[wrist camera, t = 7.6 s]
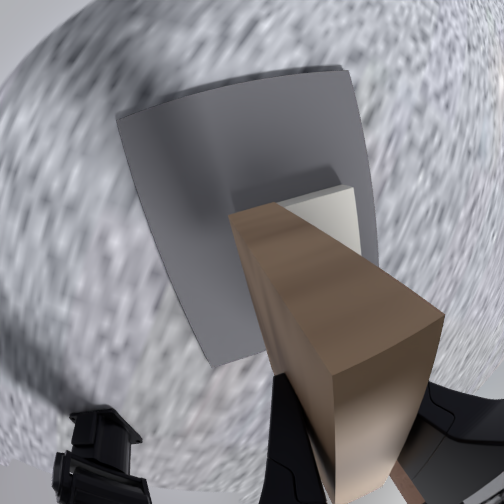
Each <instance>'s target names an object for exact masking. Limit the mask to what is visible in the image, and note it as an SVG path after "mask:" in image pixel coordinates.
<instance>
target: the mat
mask: <svg viewBox="0 0 504 504" xmlns="http://www.w3.org/2000/svg"><path fill="white" fill-rule="evenodd" d="M116 121H117V125H118V129H119V132H120V136H121V140H122V143H123V147H124V150H125V154H126V157H127V160H128V164H129V167H130V170H131V173H132V176H133V180H134V183H135V186H136V189H137V192H138V195H139V198H140V201H141V204H142V206H143V209H144V212H145V215H146V218H147V221H148V223H149V226H150V229H151V231H152V234H153V237H154V239H155V242H156V245H157V247H158V250H159V252H160V255H161V257H162V260H163V262H164V265H165V267H166V270H167V272H168V275H169V277H170V279H171V282H172V284H173V287H174V289H175V291H176V294H177V296H178V298H179V300H180V303H181V305H182V307H183V309H184V312H185V314H186V316H187V318H188V320H189V322H190V325H191V327H192V329H193V331H194V333H195V335H196V337H197V339H198V341H199V344H200V346H201V348H202V350H203V352H204V354H205V356H206V358H207V360H208V362H209V364H210V366H211V368H213V367H216V366H220V365H223V364H226V363H230V362H233V361H236V360H239V359H242V358H246V357H249V356H252V355H255V354H258V353H261V352H263V351H266V347H265V344H264V340H263V337H262V334H261V330H260V327H259V323H258V320H257V316H256V313H255V310H254V306H253V303H252V299H251V296H250V292H249V289H248V285H247V282H246V278H245V275H244V271H243V268H242V264H241V261H240V257H239V254H238V250H237V246H236V243H235V239H234V236H233V232H232V229H231V225H230V221H229V218H228V215H230V214H234V213H237V212H240V211H244V210H247V209H251V208H254V207H258V206H261V205H265V204H268V203H272V202H275V203H277V202H281V201H284V200H288V199H291V198H295V197H298V196H302V195H305V194H309V193H312V192H316V191H320V190H323V189H327V188H331V187H335V186H338V185H342V184H343V185H346V186H350V187H353V188H354V195H355V202H356V209H357V217H358V226H359V236H360V246H361V256H362V257H364V258H365V259H367V260H368V261H370V262H371V263H373V264H374V265H376V266H377V267H379V259H378V241H377V228H376V216H375V206H374V197H373V189H372V182H371V174H370V168H369V161H368V155H367V149H366V144H365V138H364V133H363V128H362V123H361V119H360V114H359V109H358V105H357V101H356V97H355V93H354V89H353V85H352V81H351V77H350V74H349V70H341V71H324V72H312V73H301V74H293V75H285V76H277V77H271V78H264V79H258V80H253V81H247V82H242V83H237V84H233V85H228V86H224V87H219V88H215V89H211V90H207V91H203V92H199V93H196V94H192V95H188V96H185V97H182V98H178V99H175V100H172V101H168V102H165V103H162V104H159V105H156V106H153V107H151V108H148V109H145V110H142V111H139V112H137V113H134V114H131V115H129V116H126V117H124V118H121V119H119V120H116Z"/></svg>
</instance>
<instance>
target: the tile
mask: <svg viewBox="0 0 504 504" xmlns="http://www.w3.org/2000/svg"><path fill="white" fill-rule="evenodd" d="M277 204H279V205H280V206H282V207H284V208H285V209H287V210H289V211H290V212H292V213H294V214H295V215H297V216H299V217H300V218H302V219H304V220H305V221H307V222H309V223H310V224H312V225H313V226H315V227H317V228H318V229H320V230H322V231H323V232H325V233H326V234H328V235H330V236H331V237H333V238H334V239H336V240H337V241H339V242H341V243H342V244H344V245H345V246H347V247H348V248H350V249H351V250H353V251H355V252H356V253H358V254H359V255H361V246H360V236H359V226H358V217H357V209H356V202H355V195H354V188H353V187H350V186H346V185H343V184H342V185H338V186H335V187H331V188H327V189H323V190H320V191H316V192H312V193H309V194H305V195H302V196H298V197H295V198H291V199H288V200H284V201H281V202H277Z"/></svg>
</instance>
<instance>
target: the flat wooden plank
mask: <svg viewBox="0 0 504 504" xmlns="http://www.w3.org/2000/svg"><path fill="white" fill-rule="evenodd" d="M228 218H229V221H230V225H231V229H232V232H233V236H234V239H235V243H236V246H237V250H238V254H239V257H240V261H241V264H242V268H243V271H244V275H245V278H246V282H247V285H248V289H249V292H250V296H251V299H252V303H253V306H254V310H255V313H256V316H257V320H258V323H259V327H260V330H261V334H262V337H263V340H264V344H265V347H266V350H267V354H268V357H269V361H270V364H271V367H272V370H273V373H274V375H277V374H280V373H285V374H286V376H287V378H288V380H289V382H290V383H291V385H292V387H293V389H294V391H295V393H296V395H297V397H298V400H299V403H300V406H301V410H302V414H303V417H304V421H305V424H306V428H307V431H308V435H309V438H310V442H311V446H312V449H313V453H314V456H315V460H316V463H317V467H318V471H319V474H320V478H321V481H322V483H323V485H324V487H325V489H326V491H327V493H328V495H329V498H330V500H331V502H332V504H348V503H350V502H352V501H354V500H356V499H359V498H361V497H363V496H365V495H367V494H369V493H370V492H373V491H375V490H377V489H378V488H380V487H382V486H383V484H384V483H385V481H386V479H387V477H388V475H389V474H390V472H391V470H392V468H393V466H394V464H395V462H396V460H397V458H398V456H399V454H400V452H401V450H402V448H403V446H404V443H405V441H406V439H407V437H408V434H409V432H410V430H411V427H412V425H413V423H414V420H415V418H416V415H417V412H418V410H419V407H420V404H421V402H422V399H423V396H424V393H425V390H426V387H427V384H428V381H429V378H430V374H431V371H432V368H433V364H434V360H435V357H436V353H437V349H438V345H439V341H440V336H441V332H442V327H443V323H444V317H445V314H444V313H442V312H441V311H440V310H438V309H437V308H436V307H434V306H433V305H431V304H430V303H429V302H427V301H426V300H425V299H423V298H422V297H420V296H419V295H418V294H416V293H415V292H413V291H412V290H411V289H409V288H408V287H406V286H405V285H404V284H402V283H401V282H399V281H398V280H396V279H395V278H393V277H392V276H391V275H389V274H388V273H386V272H385V271H383V270H382V269H380V268H379V267H377V266H376V265H374V264H373V263H371V262H370V261H368V260H367V259H365V258H364V257H362V256H361V255H359V254H358V253H356V252H355V251H353V250H351V249H350V248H348V247H347V246H345V245H344V244H342V243H341V242H339V241H337V240H336V239H334V238H333V237H331V236H330V235H328V234H326V233H325V232H323V231H322V230H320V229H318V228H317V227H315V226H313V225H312V224H310V223H309V222H307V221H305V220H304V219H302V218H300V217H299V216H297V215H295V214H294V213H292V212H290V211H289V210H287V209H285V208H284V207H282V206H280V205H279V204H277V203H275V202H272V203H268V204H265V205H261V206H258V207H254V208H251V209H247V210H244V211H240V212H237V213H234V214H230V215H228Z"/></svg>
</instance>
